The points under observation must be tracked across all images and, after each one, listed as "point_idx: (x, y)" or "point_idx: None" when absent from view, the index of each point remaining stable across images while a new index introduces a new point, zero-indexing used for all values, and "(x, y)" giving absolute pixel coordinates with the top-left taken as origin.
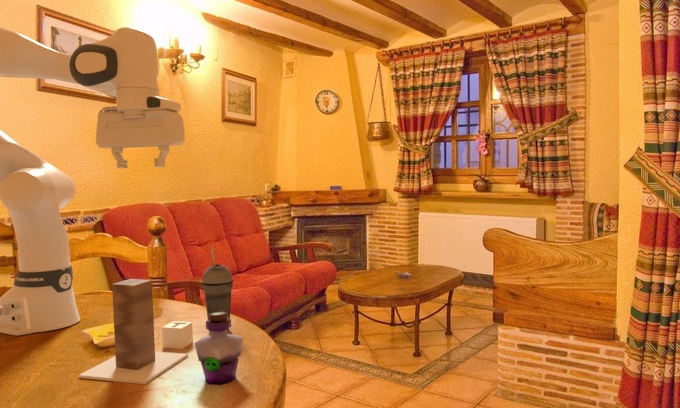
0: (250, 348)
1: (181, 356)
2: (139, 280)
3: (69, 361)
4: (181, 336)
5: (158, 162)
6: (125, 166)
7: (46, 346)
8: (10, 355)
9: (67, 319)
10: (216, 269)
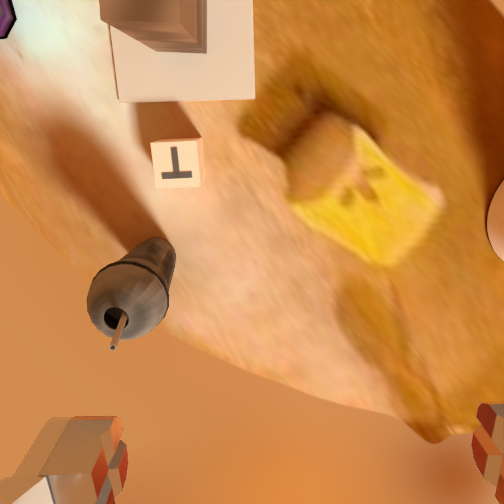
0: (33, 172)
1: (121, 85)
2: (132, 2)
3: (336, 16)
4: (154, 141)
5: (55, 440)
6: (482, 442)
7: (450, 84)
8: (489, 15)
9: (501, 210)
10: (104, 295)
